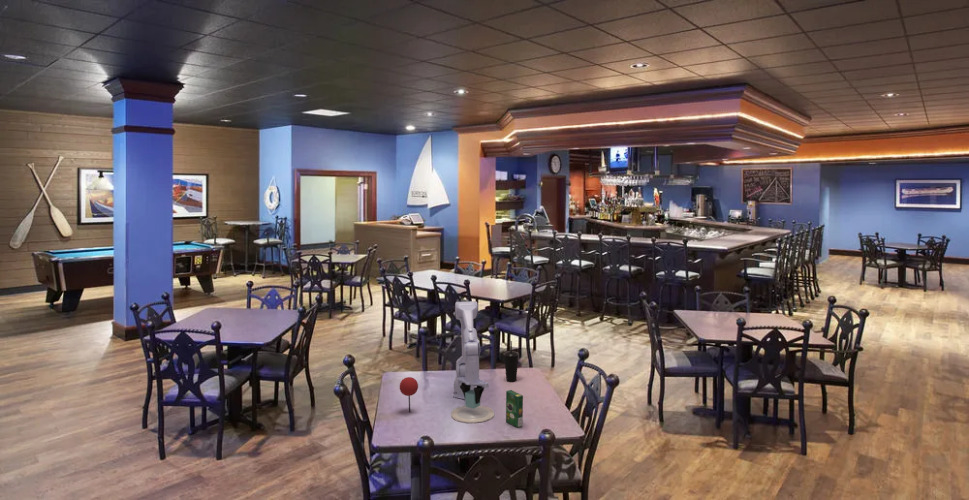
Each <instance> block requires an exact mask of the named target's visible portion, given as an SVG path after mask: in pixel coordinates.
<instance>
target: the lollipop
mask: <svg viewBox="0 0 969 500" xmlns="http://www.w3.org/2000/svg"><path fill="white" fill-rule="evenodd" d="M418 389H419V383H418V380H416V378H415V377H413V376H412V377H411V376H408V377H404V378H402V380H401V381H400V382H399V390H400V392H401V394H402V395H404V396H408V413H411V396H414V395H415V394H416V393H417V392H418Z"/></svg>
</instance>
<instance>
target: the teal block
mask: <svg viewBox="0 0 969 500" xmlns="http://www.w3.org/2000/svg"><path fill="white" fill-rule="evenodd" d="M464 402H465V403H464V406H465V407H469V408H474V409H475V408H476V407H478V406H481V402H480V403H478V404H476V402H475V392H474V390H469V391H467V392H465V399H464Z"/></svg>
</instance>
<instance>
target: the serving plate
mask: <svg viewBox="0 0 969 500" xmlns="http://www.w3.org/2000/svg"><path fill="white" fill-rule="evenodd" d="M450 417H451V418H452V419H453V421H457V422H460V423H462V424H463V423H464V424H479V423H478V422H481V423H485V422H488V421H490V420H492V419H493V418H494V417H495V412H494V410H493V409H492V408H490V407H488V406H484V405H480V406H478V407H476V408H475V409H474V408H469V407H465V405H462V406H458V407H456V408H454V409H453V410H452V411H451V413H450ZM484 421H485V422H484Z"/></svg>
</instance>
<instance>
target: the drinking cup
mask: <svg viewBox="0 0 969 500" xmlns="http://www.w3.org/2000/svg"><path fill="white" fill-rule="evenodd" d="M509 348H510V350H508V351H506V352H504V353H503V354H502V355H503V359H504V368H505V378H506V382H508V383H515V382H517V377H518V376H517V375H518V364H519V355H520V353H519V352H518V351H514V350H513V341H512V340H510V347H509Z"/></svg>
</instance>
